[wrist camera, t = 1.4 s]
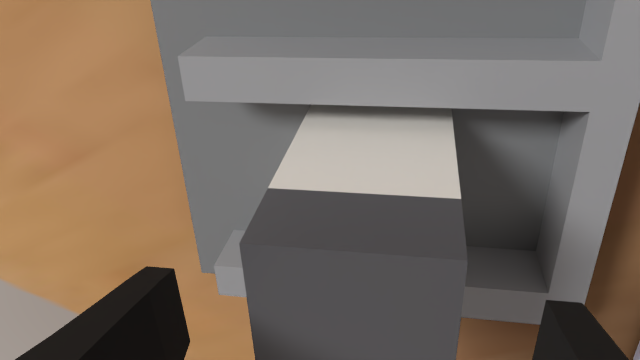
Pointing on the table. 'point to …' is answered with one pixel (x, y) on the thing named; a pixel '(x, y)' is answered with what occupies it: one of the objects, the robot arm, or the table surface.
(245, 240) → the white upright block
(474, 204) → the parts fixture tray
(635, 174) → the table surface
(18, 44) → the table surface
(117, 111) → the table surface
